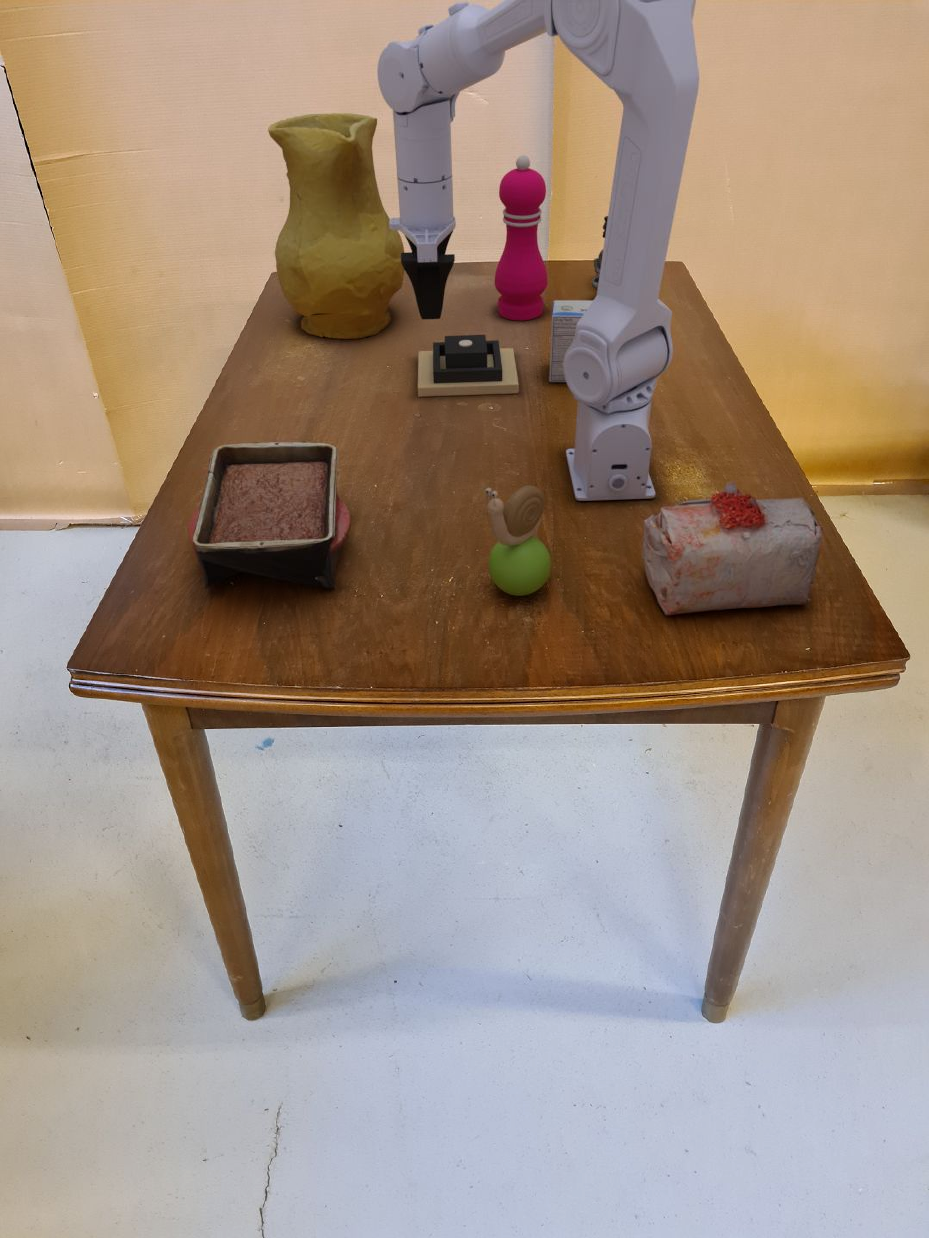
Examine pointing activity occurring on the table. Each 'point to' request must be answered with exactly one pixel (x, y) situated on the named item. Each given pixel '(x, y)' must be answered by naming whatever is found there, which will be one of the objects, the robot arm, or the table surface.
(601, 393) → the robot arm
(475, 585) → the table surface
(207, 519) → the baking dish
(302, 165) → the pitcher
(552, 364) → the medicine box
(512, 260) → the pepper mill
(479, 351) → the black block
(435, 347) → the base pad
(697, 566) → the food item
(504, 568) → the snail figurine
